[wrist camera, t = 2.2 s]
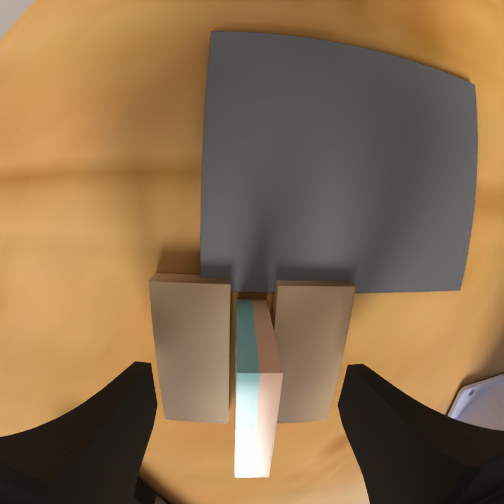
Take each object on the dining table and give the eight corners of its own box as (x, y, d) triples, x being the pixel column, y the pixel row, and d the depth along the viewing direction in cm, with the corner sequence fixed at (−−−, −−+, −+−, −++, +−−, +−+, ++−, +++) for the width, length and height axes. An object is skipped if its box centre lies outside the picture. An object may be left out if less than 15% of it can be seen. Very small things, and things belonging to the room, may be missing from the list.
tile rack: (347, 277, 12) (355, 286, 11) (322, 407, 14) (327, 420, 13) (155, 272, 12) (149, 281, 11) (168, 405, 14) (165, 419, 13)
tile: (266, 299, 12) (282, 373, 8) (260, 394, 14) (268, 476, 9) (236, 298, 12) (236, 373, 8) (234, 394, 14) (234, 477, 9)
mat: (469, 86, 10) (474, 84, 10) (455, 287, 13) (460, 290, 12) (212, 35, 10) (211, 31, 9) (201, 286, 12) (200, 290, 12)
